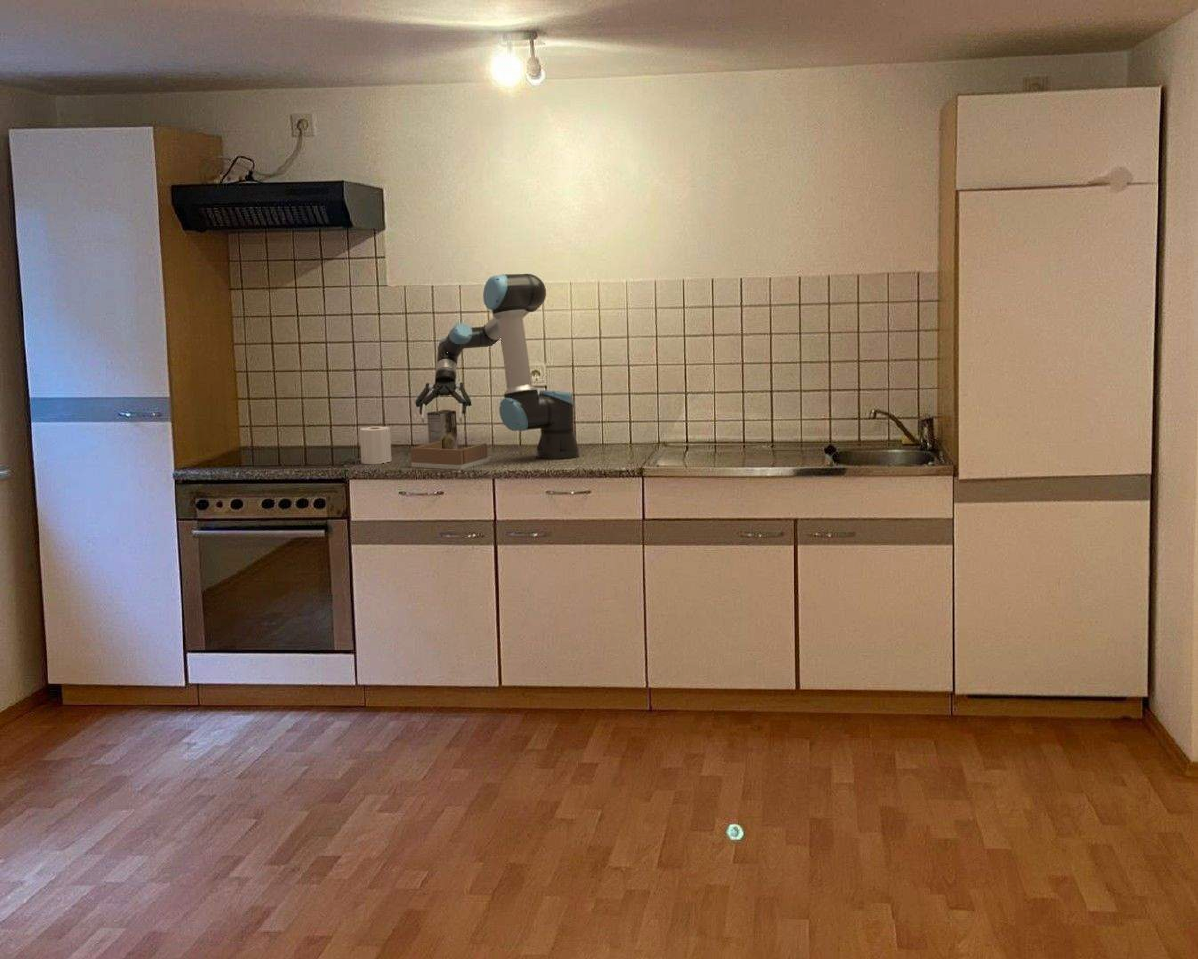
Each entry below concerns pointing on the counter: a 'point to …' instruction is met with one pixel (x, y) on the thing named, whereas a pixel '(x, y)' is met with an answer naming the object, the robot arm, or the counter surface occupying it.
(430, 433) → the coffee box
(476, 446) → the tray
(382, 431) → the toilet paper
